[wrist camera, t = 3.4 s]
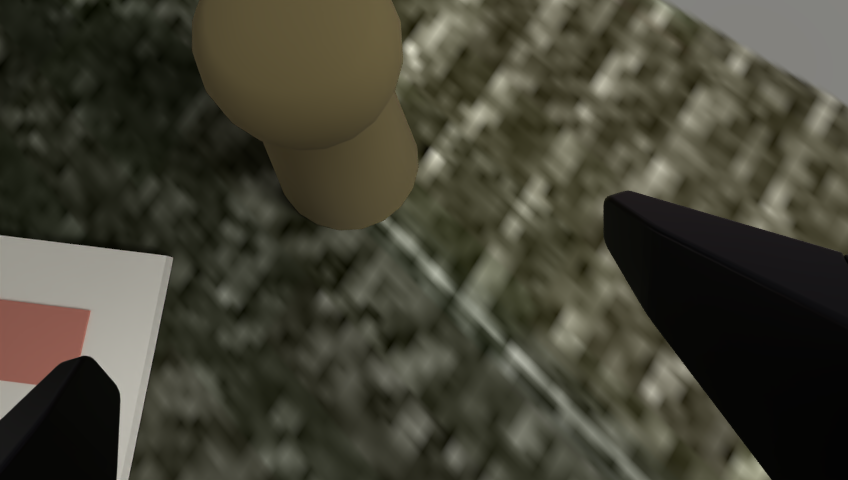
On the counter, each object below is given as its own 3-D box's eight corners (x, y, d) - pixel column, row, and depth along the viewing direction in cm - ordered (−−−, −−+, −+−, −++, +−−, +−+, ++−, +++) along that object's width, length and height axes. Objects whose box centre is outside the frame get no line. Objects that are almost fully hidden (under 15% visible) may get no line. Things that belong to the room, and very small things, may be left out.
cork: (246, 166, 23) (91, 16, 12) (343, 67, 24) (281, -158, 13) (352, 260, 22) (289, 191, 11) (447, 154, 23) (475, -4, 12)
